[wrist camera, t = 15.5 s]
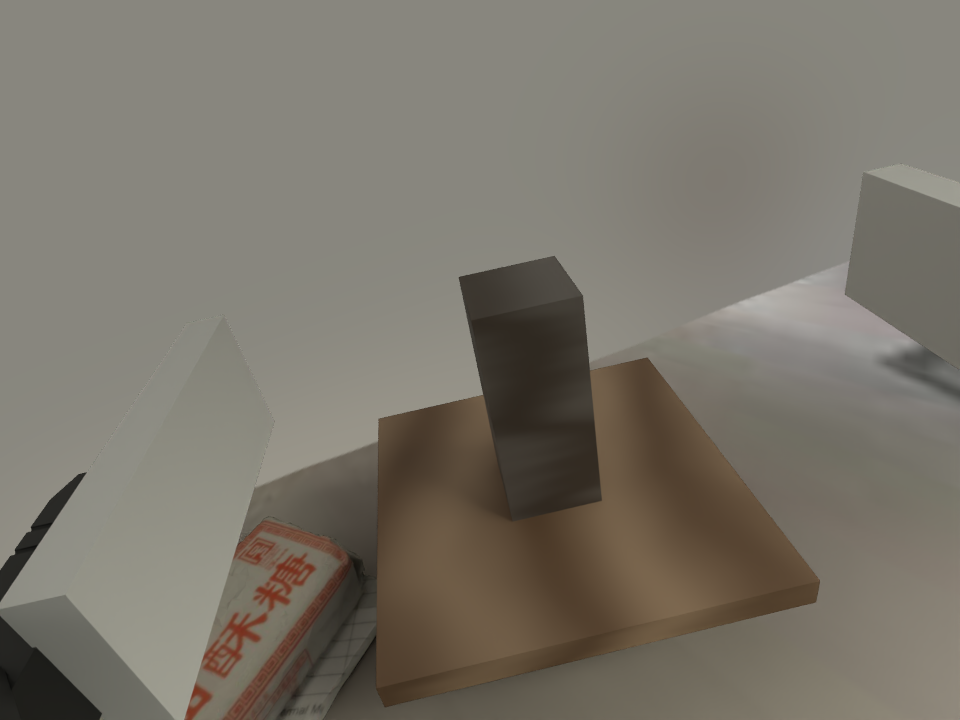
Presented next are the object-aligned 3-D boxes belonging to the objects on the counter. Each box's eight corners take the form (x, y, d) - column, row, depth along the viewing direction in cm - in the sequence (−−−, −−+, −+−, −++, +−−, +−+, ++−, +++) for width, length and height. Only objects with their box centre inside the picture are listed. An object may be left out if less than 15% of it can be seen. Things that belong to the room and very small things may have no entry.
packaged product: (242, 494, 34) (384, 537, 29) (273, 552, 36) (408, 600, 32) (-136, 854, 21) (11, 1036, 16) (-48, 905, 23) (100, 1075, 19)
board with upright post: (648, 374, 35) (641, 188, 30) (815, 601, 22) (865, 337, 16) (383, 434, 35) (325, 257, 29) (384, 706, 21) (274, 473, 15)
